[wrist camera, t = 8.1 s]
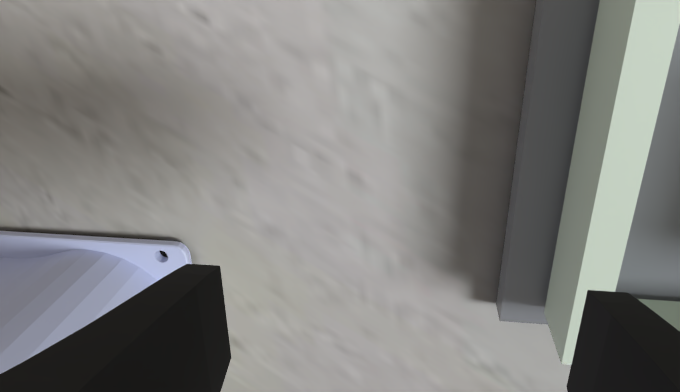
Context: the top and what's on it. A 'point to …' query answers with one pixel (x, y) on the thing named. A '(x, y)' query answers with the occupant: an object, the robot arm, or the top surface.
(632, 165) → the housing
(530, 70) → the housing base
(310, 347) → the top surface
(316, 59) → the top surface
